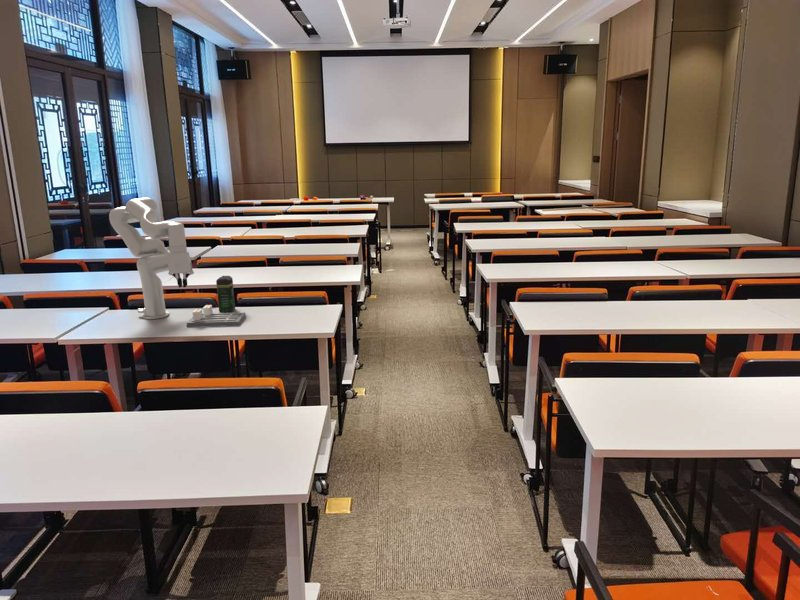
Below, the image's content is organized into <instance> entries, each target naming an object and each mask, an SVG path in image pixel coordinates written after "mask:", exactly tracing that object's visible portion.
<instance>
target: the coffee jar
mask: <svg viewBox="0 0 800 600" xmlns="http://www.w3.org/2000/svg"><path fill="white" fill-rule="evenodd" d="M215 282H216V284H215V285H216V291H217V292H216V293H217V304H218V313H234V311H235V309H236V303H235V294H234V281H233V277H232V276H230V275H222V276H220V277H218V278H217V279H216V281H215Z"/></svg>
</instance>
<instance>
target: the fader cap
mask: <svg viewBox="0 0 800 600" xmlns="http://www.w3.org/2000/svg"><path fill="white" fill-rule="evenodd" d="M202 314H203V309H202V308H195V309H194V310H193V311H192V317H193V320H200V319H201V318H202V317H203V315H202Z"/></svg>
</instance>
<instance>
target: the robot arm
mask: <svg viewBox="0 0 800 600" xmlns="http://www.w3.org/2000/svg"><path fill="white" fill-rule="evenodd" d="M125 203H126V204H125V206H120V207H119V206H118V207H116V208H115V207H114V208H112V209H111V210H110V212H109V214H108V216H109V217H108V220H109V223H110V225H111V227H112V228H113V230H114V232H116V233H117V234H118V235H119V236H120V237H121V239H122V240H123V242H124V244H125V245H126V247H127V248H128V250H129V251H130V254H131V255H132V256H133V257H135V258H139V259H137V261H136V268H137V272H138V274H139V276H140V281H141V282H140V283H141V289H142V295H143V303H144V308H143V307H142V308H140V307H139V308H137V313H138V314H143V315H142V319H145V320H159V319H162V318H163V319H164V318H166V317H168V316H169V315H170V311H168V310H167V309H166V304H165V296H164V290H163V289H164V288H163V283H162V279H161V278H160V277H159V276H158V275H157V274H159V273H163V272H168V275H169V276H173V278H174V279H176V282H177V286H178V288H182V287H183V288H186V287H188V277H189V276H192V275H194V274H195V272H194V270H193V264H192V259H191V255H190V252H189V250H188V249H187V241H186V239H187V238H186V231H185V226H184V223H182V222H175V221H174V220H168V221H167V220H166V221H159V222H156V220H157V219H158V213H157V211H158V205H157V202H156V201H155V200H154V199H153V198H152V197H138V198H132V199H130V200H128V201H127V202H125ZM132 223H139V225H140V228H141V230H142V232H143V234H144V235H146V236H147V237H143V236H142V234H141V233H140V232H139V230H138V229H137V228H136V227H134V226H133V225H130V224H132ZM166 238H167V239H168V246H167V247H166V246H165V245H164V243H163V242H162V240H161V239H166ZM181 274H182V277H183V278H182V277H181Z"/></svg>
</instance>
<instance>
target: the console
mask: <svg viewBox="0 0 800 600" xmlns="http://www.w3.org/2000/svg"><path fill="white" fill-rule="evenodd" d="M202 308H203V309H202V315H203V317H202V318H201V319H200V320H193V316H192V317H191V318H190V319H189V320H188V321H187V322H186V323H185V324H186V328H191V327H193V328H194V327H195V328H196V327H198V328H199V327H228V326H229V327H230V326H231V327H234V326H235V327H236V326H240V325H241V323H242V322H243V320H244V319H245V318H246V315H247V314H246V312H228V313H222V312H217V313H216V312H213V305H212V304H206V305H204V306H203V307H202Z"/></svg>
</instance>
